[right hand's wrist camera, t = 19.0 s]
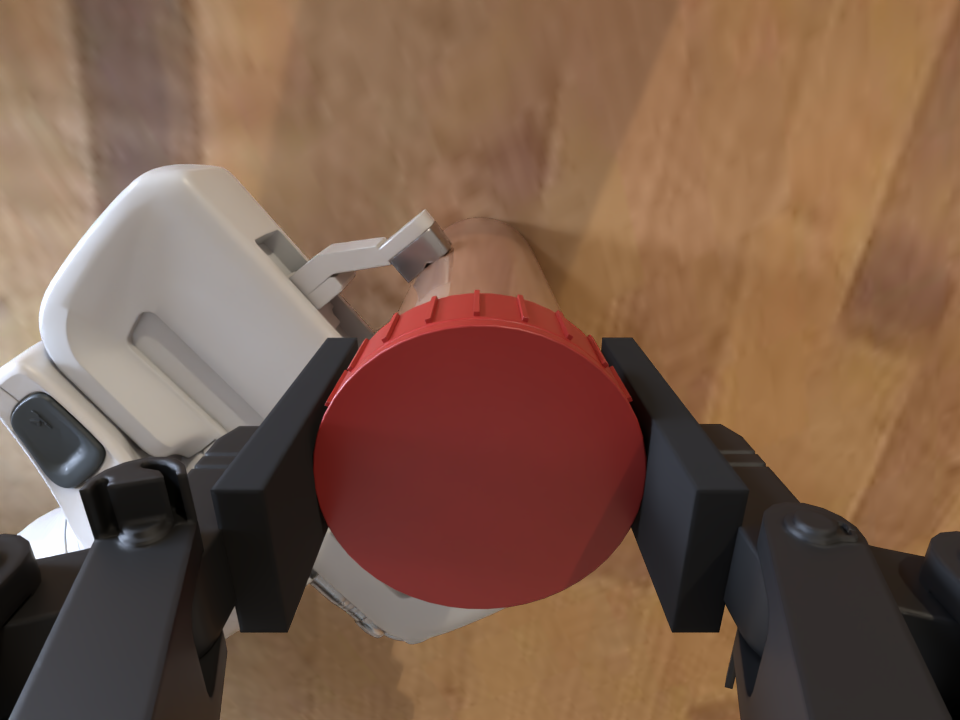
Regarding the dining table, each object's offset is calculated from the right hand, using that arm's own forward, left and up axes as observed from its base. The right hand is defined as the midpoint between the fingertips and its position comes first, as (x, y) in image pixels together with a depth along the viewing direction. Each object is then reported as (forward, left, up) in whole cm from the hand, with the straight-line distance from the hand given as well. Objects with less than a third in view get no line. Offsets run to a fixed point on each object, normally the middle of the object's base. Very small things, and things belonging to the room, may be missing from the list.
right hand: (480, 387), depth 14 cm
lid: (0, 0, +4) cm, 4 cm away
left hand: (0, +1, -6) cm, 6 cm away
